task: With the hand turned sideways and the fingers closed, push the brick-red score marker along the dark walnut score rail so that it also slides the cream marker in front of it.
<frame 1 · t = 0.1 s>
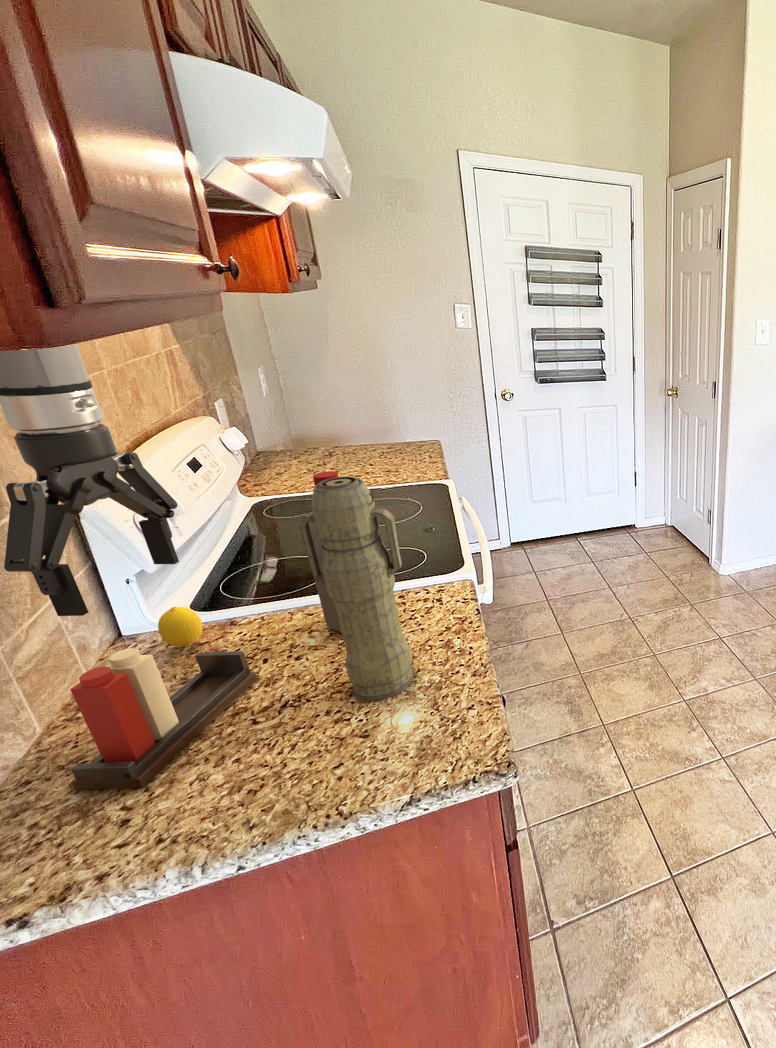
hand: (124, 586, 74), 24 cm above the counter, tool pointing down, fingers open, 13 cm apart
marker red: (113, 715, 74), point 8 cm above the counter, slide at 0.0 cm
score rail: (177, 727, 83), on the counter
lemon: (188, 647, 102), on the counter
thermos: (384, 683, 94), on the counter
marker cream: (140, 694, 77), point 8 cm above the counter, slide at 0.0 cm
liquor: (360, 622, 110), on the counter
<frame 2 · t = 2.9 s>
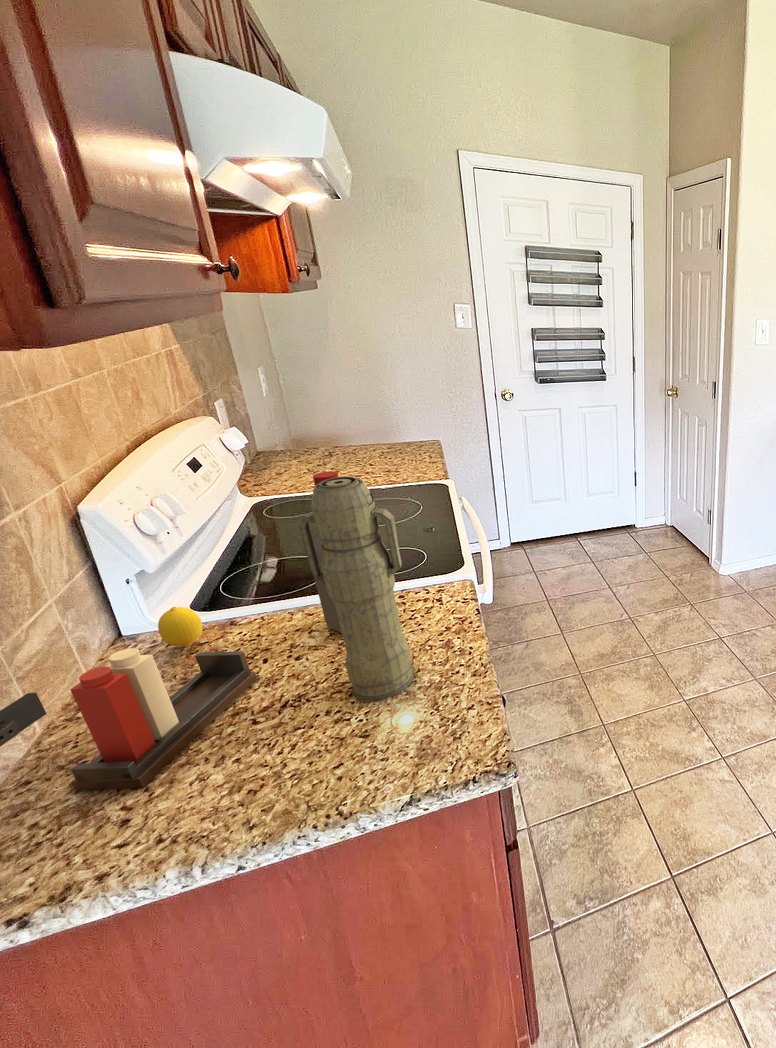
nothing on the counter moved.
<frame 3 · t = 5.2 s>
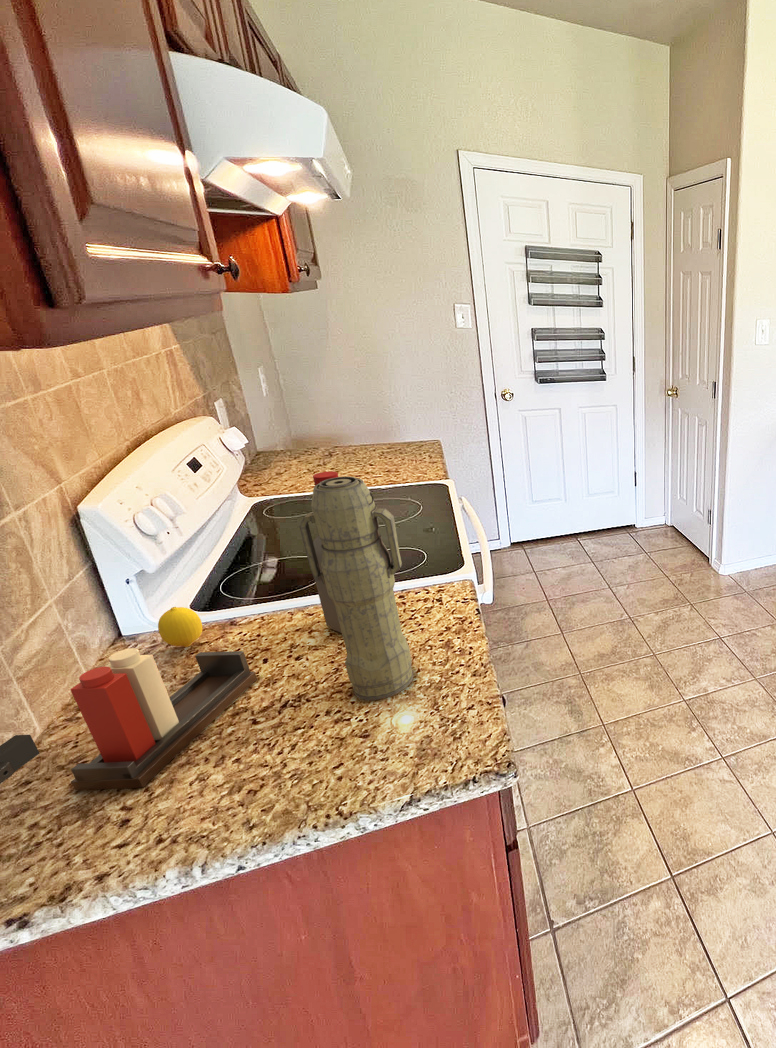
hand: (27, 744, 64), 12 cm above the counter, tool horizontal, fingers closed
nothing on the counter moved.
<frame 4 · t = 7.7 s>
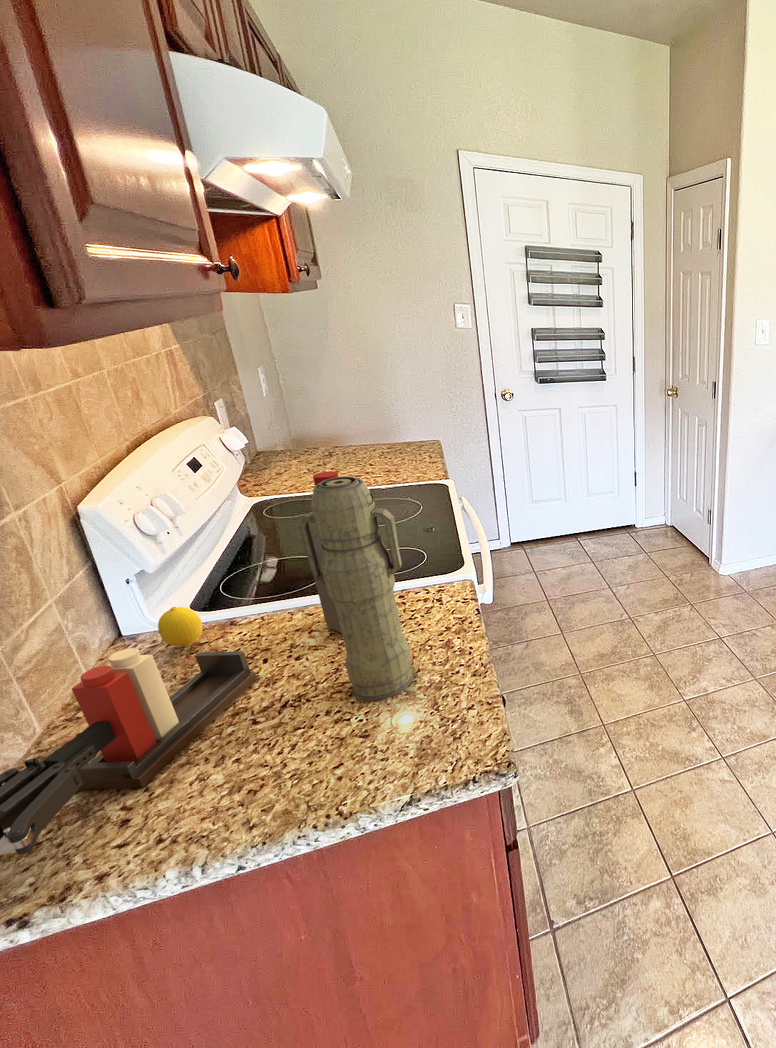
hand: (105, 729, 73), 7 cm above the counter, tool horizontal, fingers closed
marker red: (114, 714, 74), point 8 cm above the counter, slide at 0.2 cm, touching gripper
everything else where it was.
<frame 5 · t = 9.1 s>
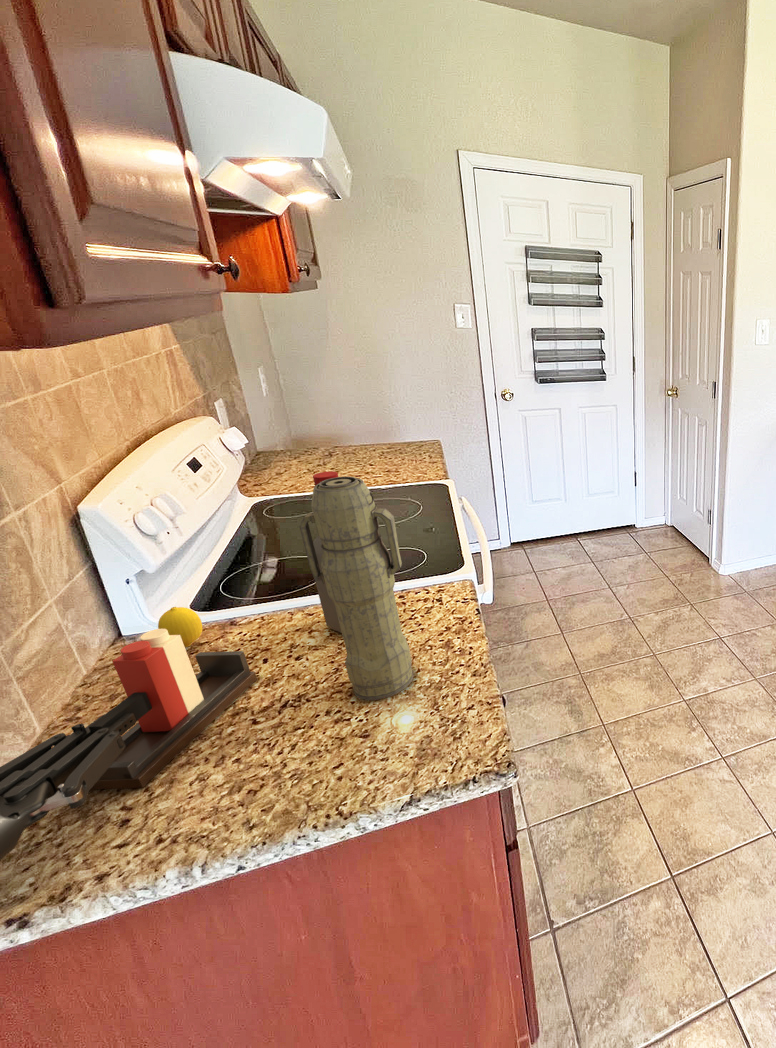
hand: (143, 700, 78), 7 cm above the counter, tool horizontal, fingers closed
marker red: (151, 686, 79), point 8 cm above the counter, slide at 5.7 cm, touching gripper, marker cream
marker cream: (168, 672, 82), point 8 cm above the counter, slide at 4.7 cm, touching marker red
everything else where it was.
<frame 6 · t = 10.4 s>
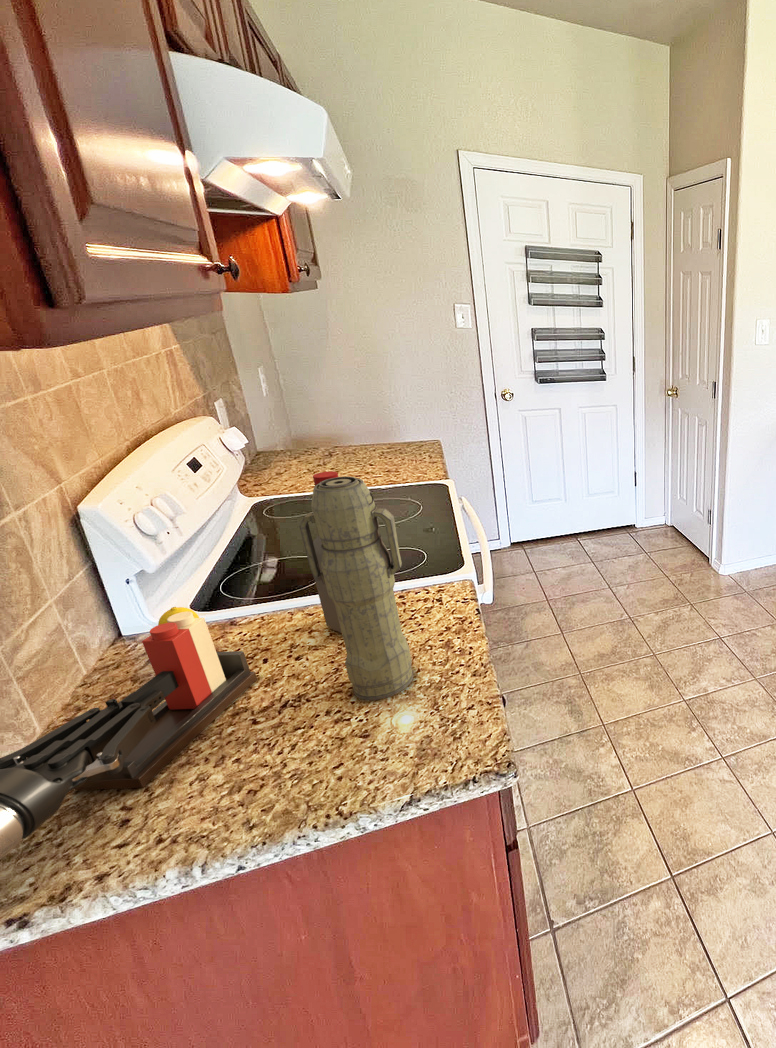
hand: (170, 679, 82), 7 cm above the counter, tool horizontal, fingers closed
marker red: (177, 666, 83), point 8 cm above the counter, slide at 10.3 cm, touching gripper, marker cream
marker cream: (193, 653, 86), point 8 cm above the counter, slide at 9.3 cm, touching marker red
everything else where it was.
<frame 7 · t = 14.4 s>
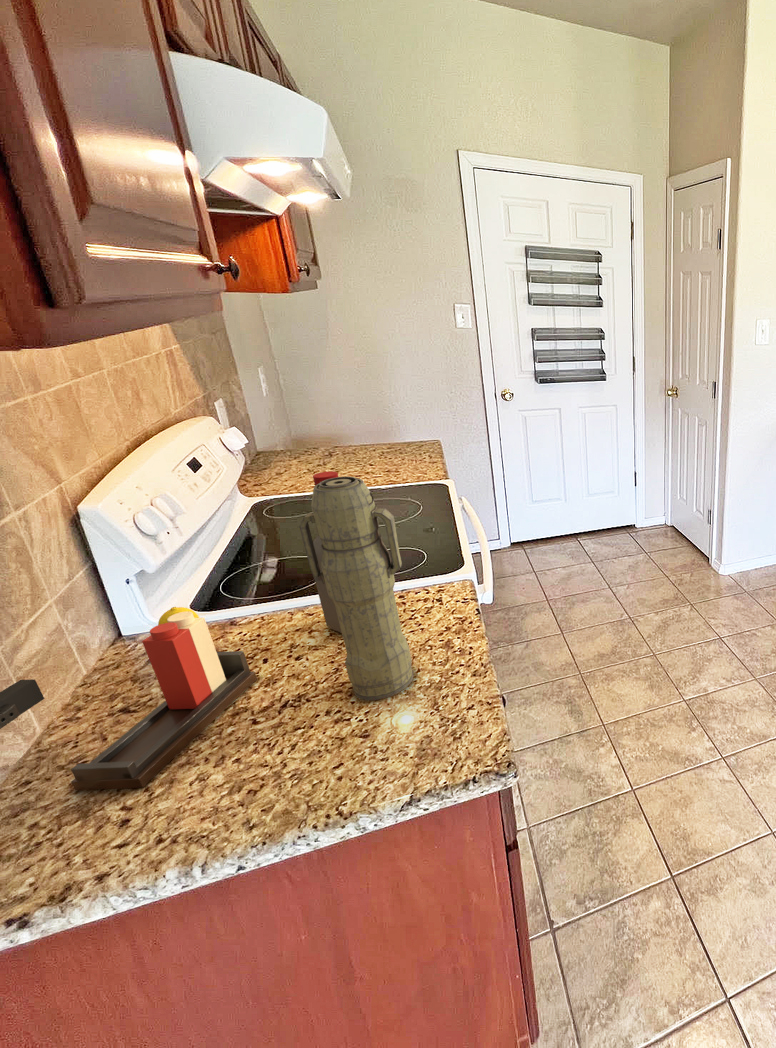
hand: (32, 689, 64), 18 cm above the counter, tool horizontal, fingers closed
marker red: (177, 666, 83), point 8 cm above the counter, slide at 10.3 cm, touching marker cream
everything else where it was.
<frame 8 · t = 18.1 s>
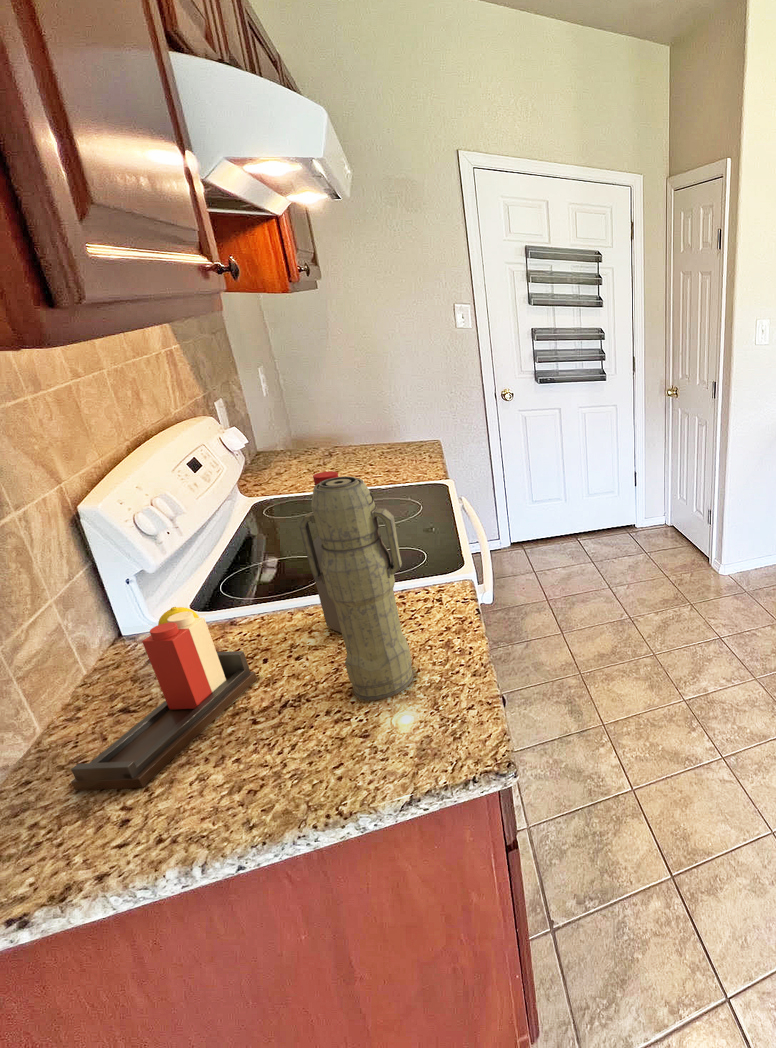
nothing on the counter moved.
at the end: marker red slide at 10.3 cm; marker cream slide at 9.3 cm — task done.
